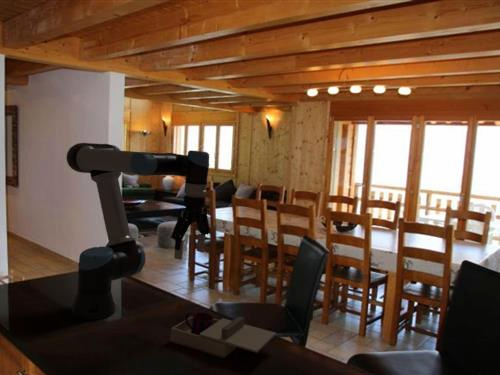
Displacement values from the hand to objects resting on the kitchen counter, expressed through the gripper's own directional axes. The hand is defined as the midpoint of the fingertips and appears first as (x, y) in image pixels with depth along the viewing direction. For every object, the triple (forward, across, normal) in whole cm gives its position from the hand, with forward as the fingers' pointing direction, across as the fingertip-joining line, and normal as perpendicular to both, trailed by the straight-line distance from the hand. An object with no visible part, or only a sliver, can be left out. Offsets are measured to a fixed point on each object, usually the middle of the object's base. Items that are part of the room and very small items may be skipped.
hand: (189, 255), depth 153 cm
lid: (+20, -5, -25) cm, 32 cm away
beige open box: (+25, -5, -14) cm, 29 cm away
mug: (+24, -5, -9) cm, 27 cm away
